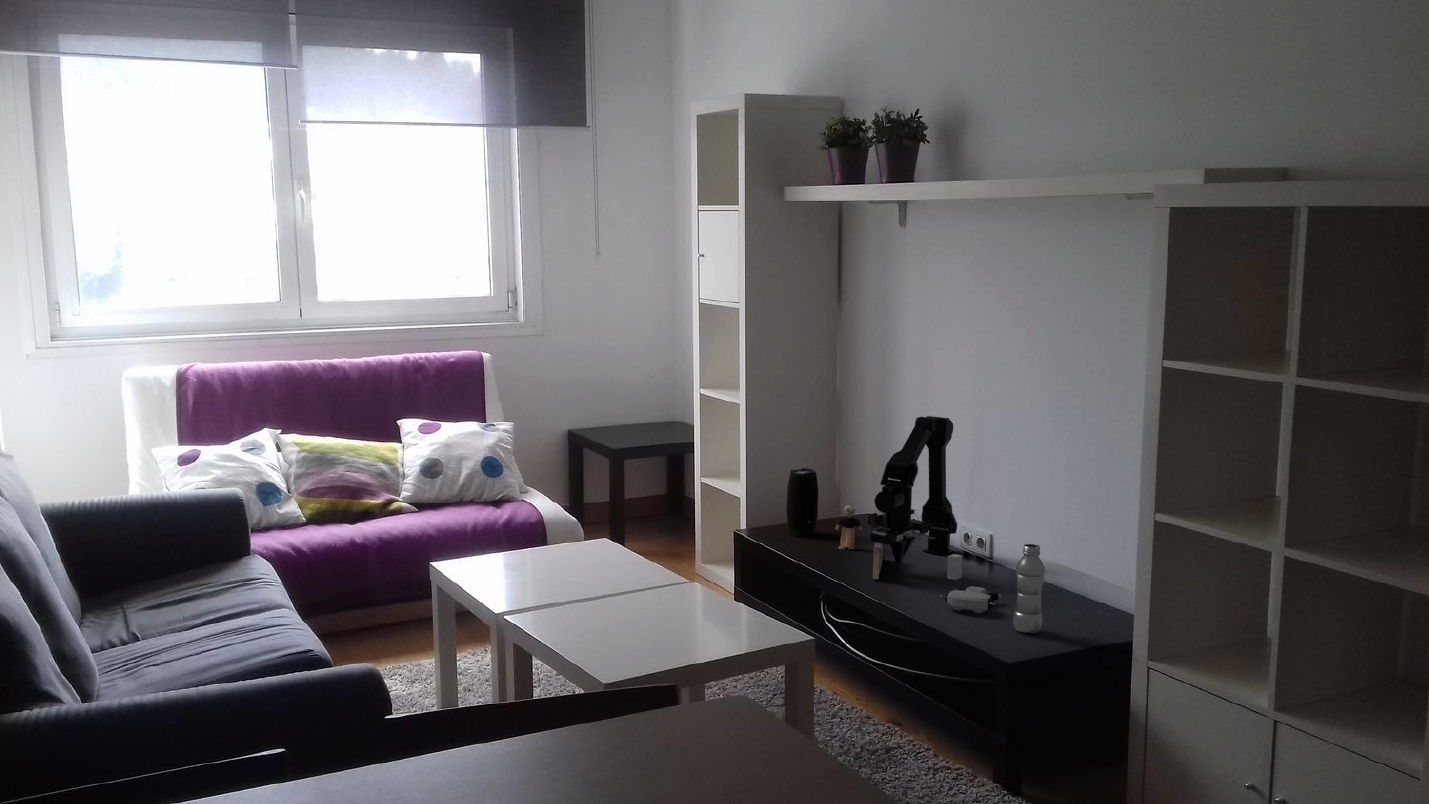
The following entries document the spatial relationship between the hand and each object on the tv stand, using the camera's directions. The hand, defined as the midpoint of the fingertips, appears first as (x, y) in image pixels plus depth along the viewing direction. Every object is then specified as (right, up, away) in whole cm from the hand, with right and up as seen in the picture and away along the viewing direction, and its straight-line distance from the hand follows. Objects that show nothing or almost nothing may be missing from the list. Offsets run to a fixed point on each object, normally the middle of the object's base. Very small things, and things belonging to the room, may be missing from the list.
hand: (898, 563), depth 320 cm
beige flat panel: (-5, -2, +5) cm, 7 cm away
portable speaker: (-23, +3, +43) cm, 48 cm away
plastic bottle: (+22, -10, -45) cm, 51 cm away
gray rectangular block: (+14, -4, -2) cm, 15 cm away
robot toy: (+14, -7, -27) cm, 31 cm away
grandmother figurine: (-10, 0, +27) cm, 29 cm away
